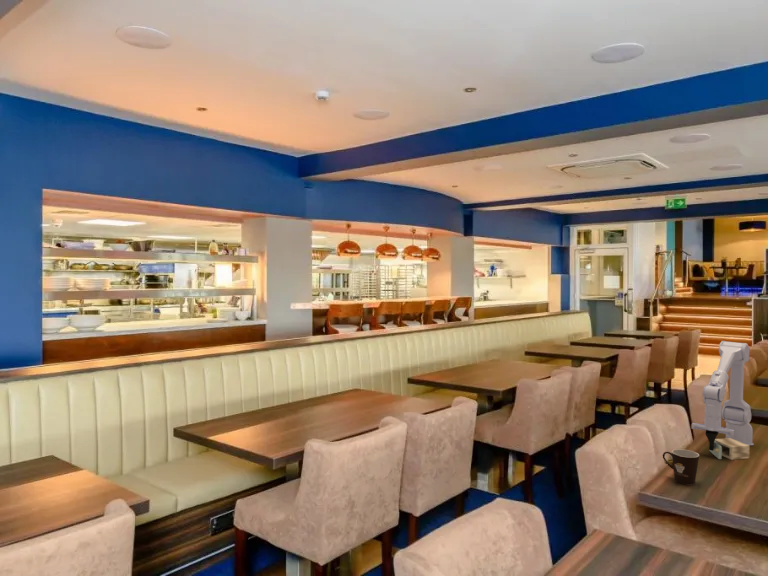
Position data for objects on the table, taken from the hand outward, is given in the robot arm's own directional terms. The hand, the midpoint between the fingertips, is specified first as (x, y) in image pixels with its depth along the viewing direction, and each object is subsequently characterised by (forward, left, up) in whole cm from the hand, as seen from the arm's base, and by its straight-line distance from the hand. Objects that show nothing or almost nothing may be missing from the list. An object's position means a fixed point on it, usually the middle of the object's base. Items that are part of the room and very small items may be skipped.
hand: (711, 449), depth 228 cm
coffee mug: (+28, +19, -3) cm, 34 cm away
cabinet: (-9, 0, -3) cm, 9 cm away
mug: (+20, +6, -3) cm, 21 cm away
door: (-2, -1, -2) cm, 3 cm away
